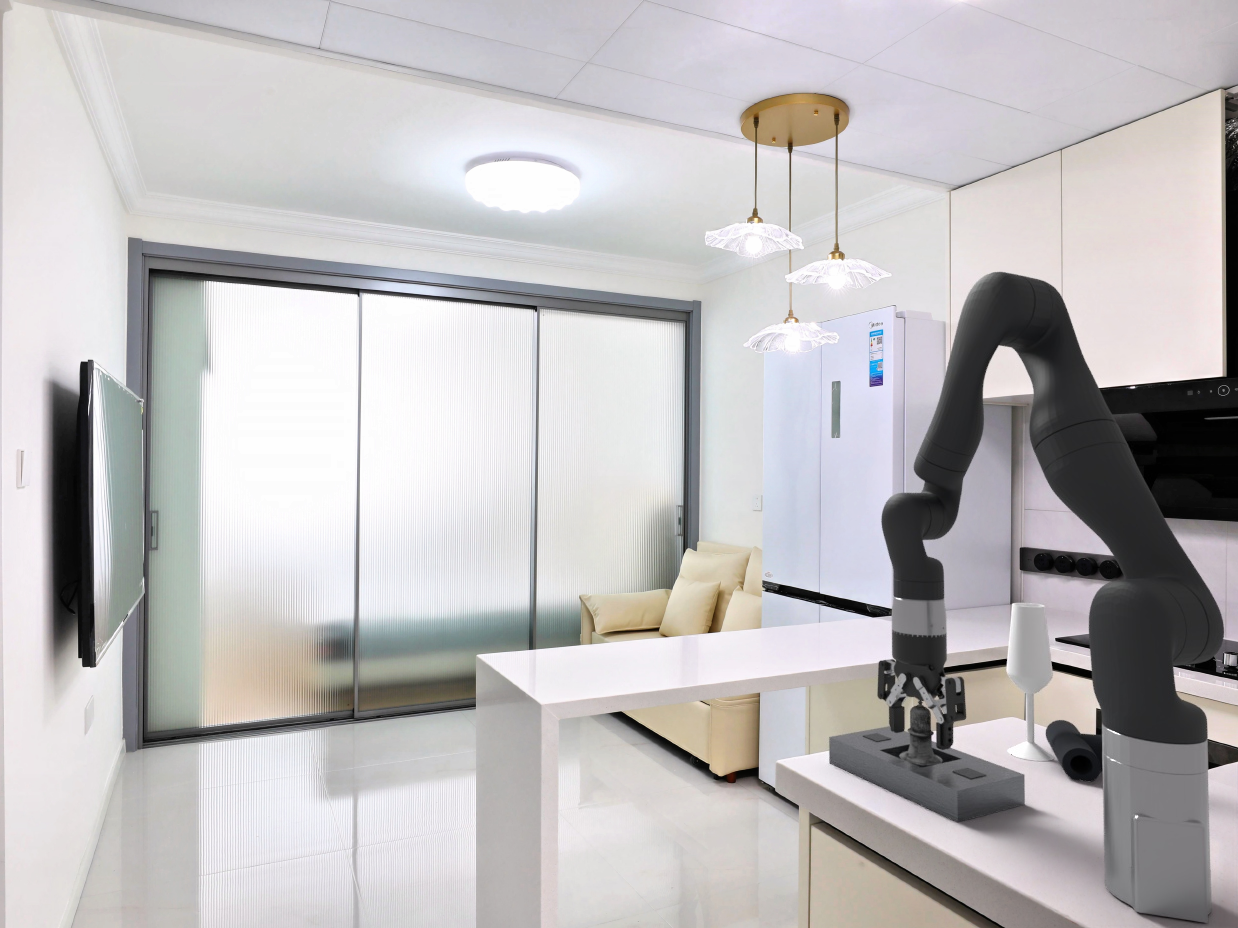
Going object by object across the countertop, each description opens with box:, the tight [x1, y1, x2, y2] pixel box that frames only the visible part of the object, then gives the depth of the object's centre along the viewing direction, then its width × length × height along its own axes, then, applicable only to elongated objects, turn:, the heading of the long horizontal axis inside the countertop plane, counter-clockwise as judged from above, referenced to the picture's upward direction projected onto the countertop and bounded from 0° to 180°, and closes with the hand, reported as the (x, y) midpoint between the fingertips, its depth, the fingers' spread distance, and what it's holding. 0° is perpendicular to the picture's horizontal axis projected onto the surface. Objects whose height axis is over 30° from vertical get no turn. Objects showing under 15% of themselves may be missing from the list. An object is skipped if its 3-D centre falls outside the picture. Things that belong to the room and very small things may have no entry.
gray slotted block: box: [828, 725, 1026, 823], centre depth 113 cm, size 24×13×4 cm, turn 26°
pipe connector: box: [1045, 719, 1103, 782], centre depth 120 cm, size 12×5×15 cm
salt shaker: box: [899, 700, 943, 767], centre depth 113 cm, size 6×6×12 cm
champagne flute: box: [1005, 602, 1055, 762], centre depth 126 cm, size 7×7×24 cm
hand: (919, 739), depth 113 cm, fingers open, 8 cm apart
